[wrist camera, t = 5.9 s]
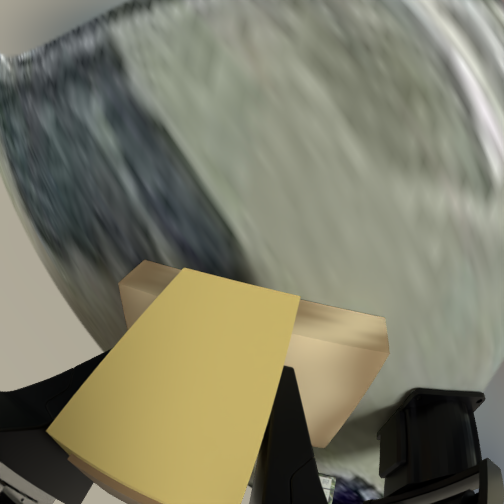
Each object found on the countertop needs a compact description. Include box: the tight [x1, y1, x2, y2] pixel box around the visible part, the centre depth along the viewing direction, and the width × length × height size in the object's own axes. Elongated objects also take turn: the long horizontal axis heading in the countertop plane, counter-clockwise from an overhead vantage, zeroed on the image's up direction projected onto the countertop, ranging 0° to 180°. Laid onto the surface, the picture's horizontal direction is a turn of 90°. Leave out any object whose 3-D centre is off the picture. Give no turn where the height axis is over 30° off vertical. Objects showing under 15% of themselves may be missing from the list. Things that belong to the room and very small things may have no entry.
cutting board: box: [118, 260, 390, 448], centre depth 16 cm, size 13×10×2 cm
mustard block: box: [46, 268, 301, 504], centre depth 7 cm, size 4×4×7 cm
